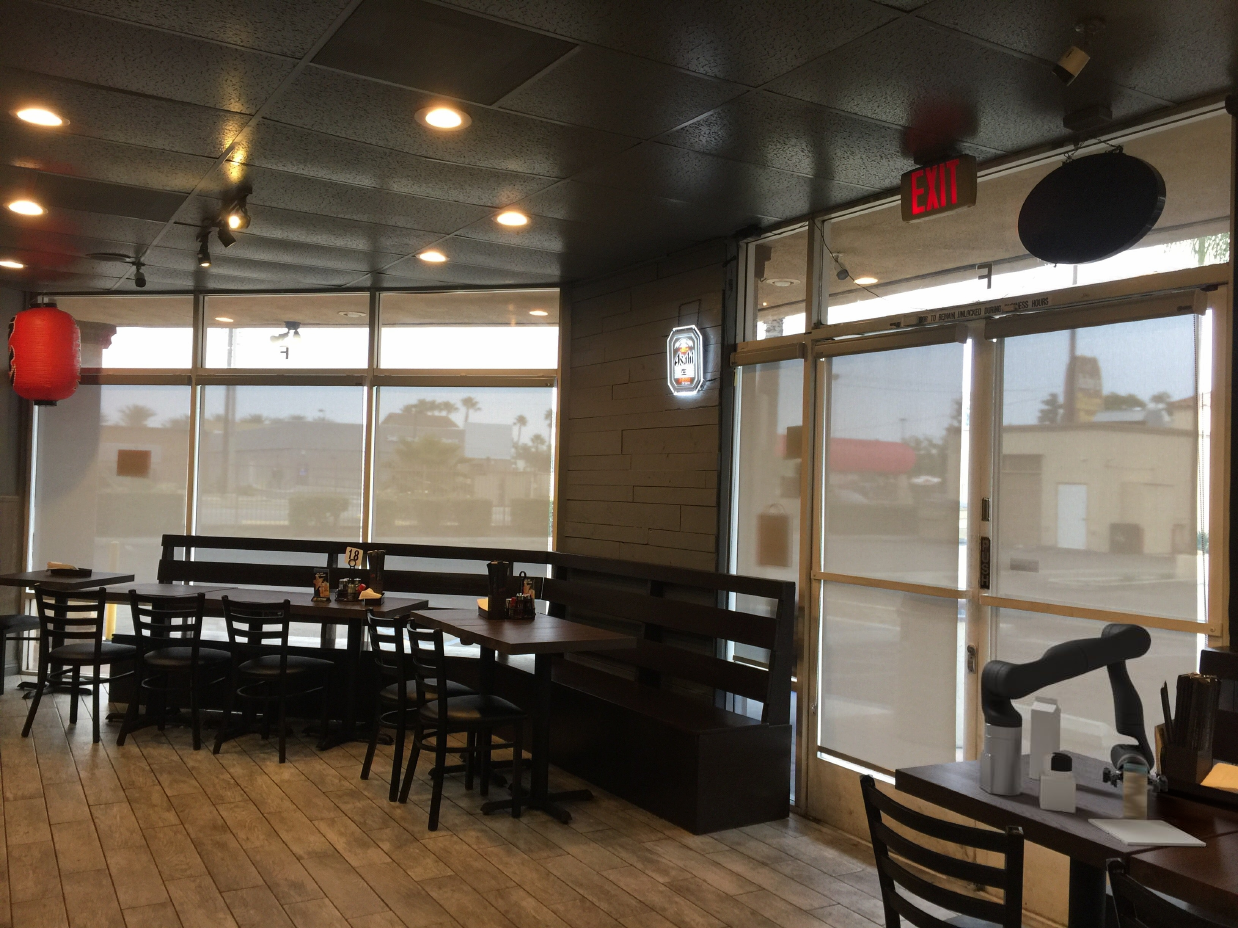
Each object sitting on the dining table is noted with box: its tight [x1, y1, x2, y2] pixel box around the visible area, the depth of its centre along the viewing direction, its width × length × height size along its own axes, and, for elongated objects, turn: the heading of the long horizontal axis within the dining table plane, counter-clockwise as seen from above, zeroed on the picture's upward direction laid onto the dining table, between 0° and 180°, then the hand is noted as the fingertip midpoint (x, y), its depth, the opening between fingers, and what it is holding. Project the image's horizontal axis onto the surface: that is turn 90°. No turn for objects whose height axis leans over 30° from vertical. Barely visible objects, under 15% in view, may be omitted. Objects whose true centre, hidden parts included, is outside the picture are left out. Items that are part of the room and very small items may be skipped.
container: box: [1038, 752, 1077, 814], centre depth 246 cm, size 8×8×13 cm
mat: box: [1087, 818, 1207, 847], centre depth 228 cm, size 18×16×1 cm
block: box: [1122, 763, 1148, 820], centre depth 241 cm, size 5×5×12 cm
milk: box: [1028, 695, 1062, 781], centre depth 273 cm, size 6×6×22 cm
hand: (1135, 785), depth 242 cm, fingers open, 8 cm apart
